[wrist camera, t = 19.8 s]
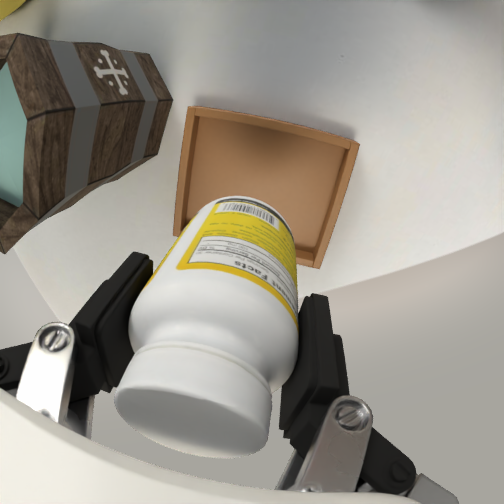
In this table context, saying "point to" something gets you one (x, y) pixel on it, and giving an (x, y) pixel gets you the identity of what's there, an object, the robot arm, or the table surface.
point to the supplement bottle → (214, 333)
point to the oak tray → (265, 172)
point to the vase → (9, 7)
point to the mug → (71, 124)
